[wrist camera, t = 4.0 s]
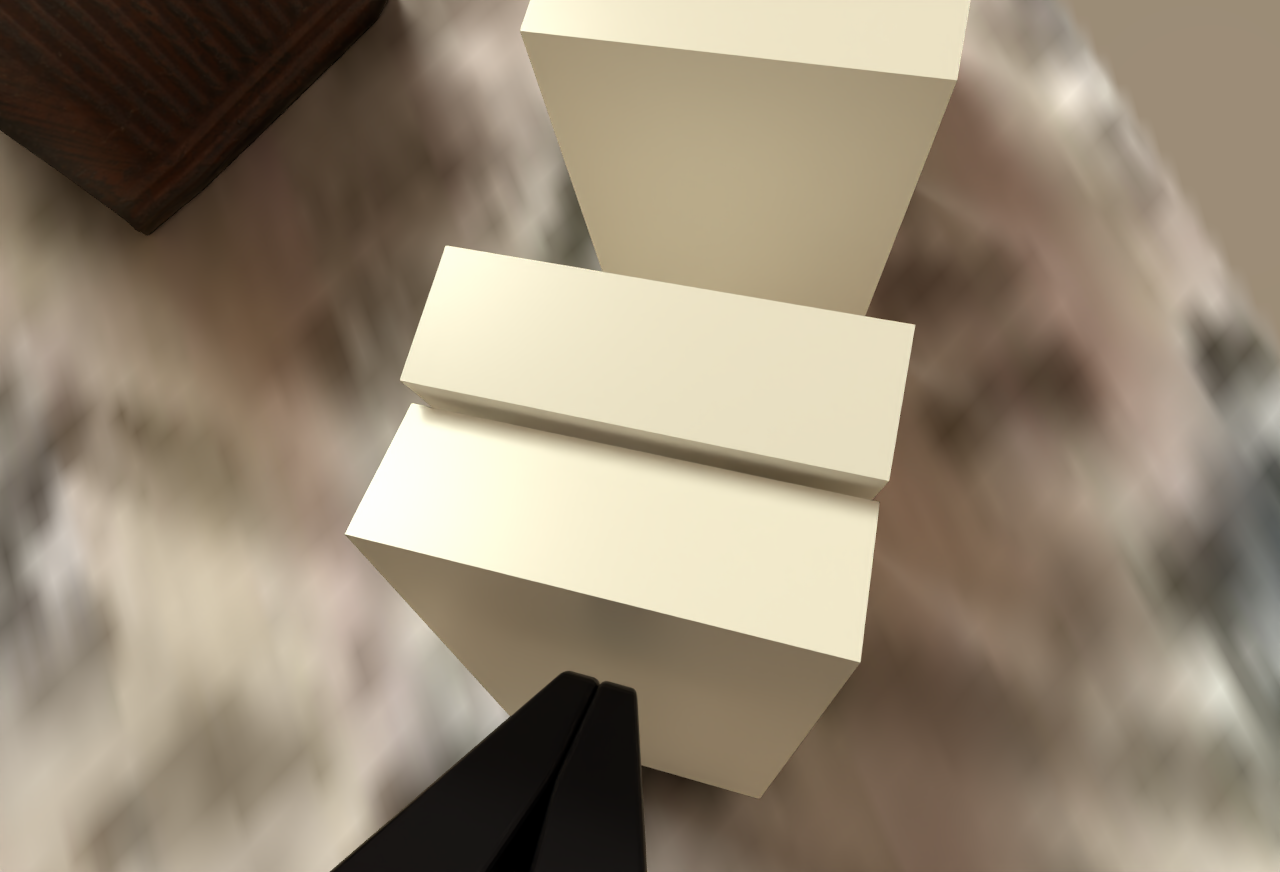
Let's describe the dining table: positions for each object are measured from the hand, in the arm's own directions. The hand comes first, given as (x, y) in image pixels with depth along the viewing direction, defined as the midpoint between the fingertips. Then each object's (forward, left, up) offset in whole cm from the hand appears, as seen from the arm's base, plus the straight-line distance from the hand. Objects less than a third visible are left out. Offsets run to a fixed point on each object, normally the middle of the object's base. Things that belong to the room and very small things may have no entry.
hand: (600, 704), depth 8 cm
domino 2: (+4, 0, -8) cm, 9 cm away
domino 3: (-1, 0, -8) cm, 8 cm away
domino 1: (+8, 0, -8) cm, 12 cm away
